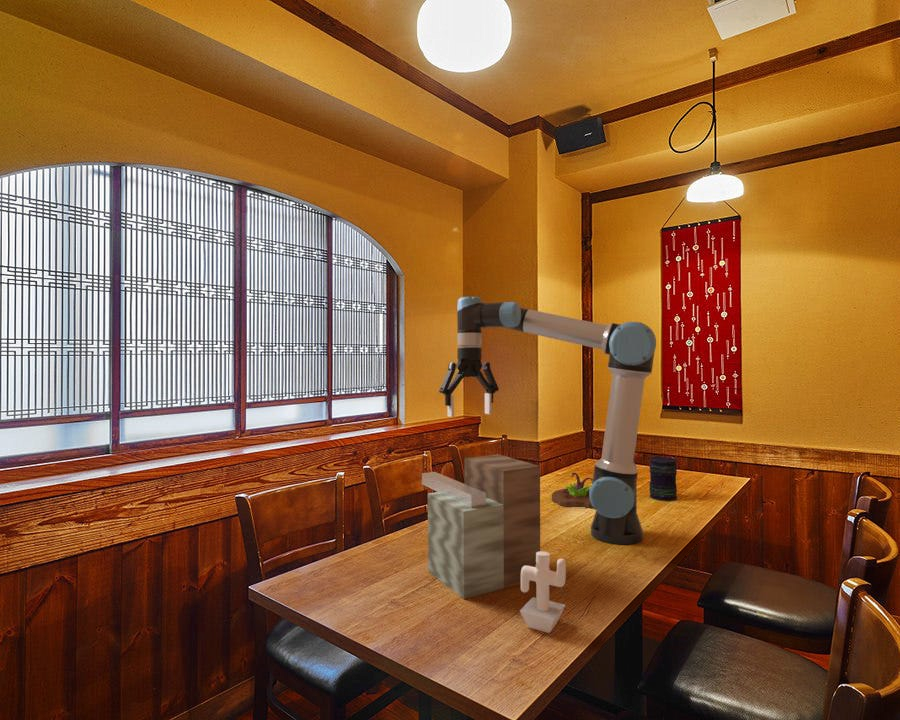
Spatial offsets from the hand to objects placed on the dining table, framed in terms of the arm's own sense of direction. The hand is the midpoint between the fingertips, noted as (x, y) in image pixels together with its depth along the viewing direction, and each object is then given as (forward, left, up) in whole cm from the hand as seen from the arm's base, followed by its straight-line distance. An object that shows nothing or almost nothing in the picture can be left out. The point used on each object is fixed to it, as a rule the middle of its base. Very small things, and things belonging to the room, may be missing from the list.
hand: (469, 415), depth 165 cm
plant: (-18, -52, -37) cm, 66 cm away
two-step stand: (-18, +26, -37) cm, 48 cm away
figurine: (-40, +42, -37) cm, 69 cm away
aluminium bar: (-10, +28, -17) cm, 35 cm away
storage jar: (-45, -73, -37) cm, 93 cm away
